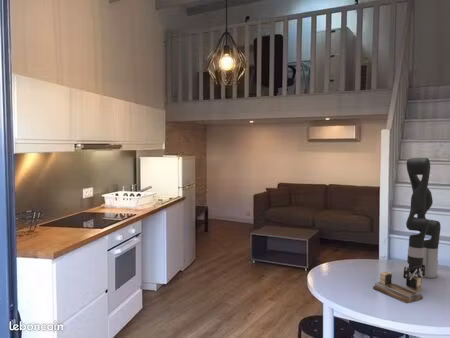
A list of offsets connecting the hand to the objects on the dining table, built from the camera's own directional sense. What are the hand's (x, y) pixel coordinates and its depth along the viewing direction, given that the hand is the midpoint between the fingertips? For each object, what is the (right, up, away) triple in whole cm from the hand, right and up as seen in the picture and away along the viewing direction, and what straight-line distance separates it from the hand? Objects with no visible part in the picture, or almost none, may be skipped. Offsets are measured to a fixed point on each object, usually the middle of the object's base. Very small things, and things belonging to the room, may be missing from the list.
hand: (413, 285), depth 199 cm
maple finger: (0, -3, 0) cm, 3 cm away
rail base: (-11, -3, -6) cm, 13 cm away
